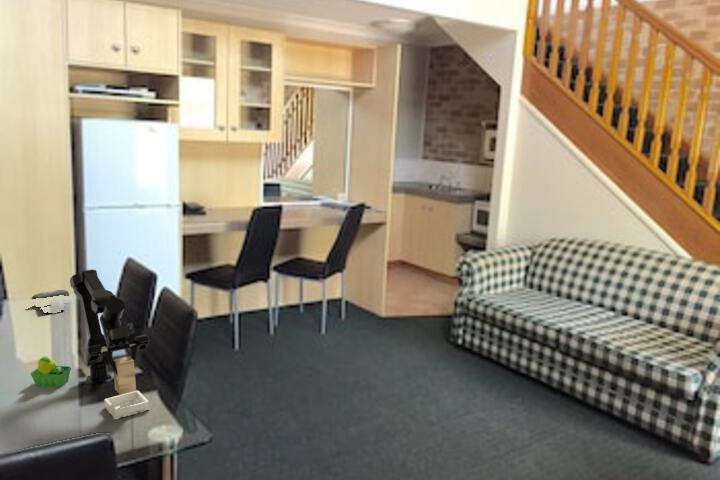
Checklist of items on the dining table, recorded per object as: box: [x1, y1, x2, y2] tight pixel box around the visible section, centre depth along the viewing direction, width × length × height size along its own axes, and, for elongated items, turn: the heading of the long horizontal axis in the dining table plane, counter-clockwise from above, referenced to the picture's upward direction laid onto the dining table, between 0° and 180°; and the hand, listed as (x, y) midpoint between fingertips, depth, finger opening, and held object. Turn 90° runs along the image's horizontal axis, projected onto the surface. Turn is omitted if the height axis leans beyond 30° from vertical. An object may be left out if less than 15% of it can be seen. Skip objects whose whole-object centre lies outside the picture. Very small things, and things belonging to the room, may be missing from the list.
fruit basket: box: [29, 356, 72, 388], centre depth 205 cm, size 11×9×11 cm
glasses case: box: [31, 289, 70, 299], centre depth 302 cm, size 18×10×8 cm, turn 136°
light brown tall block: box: [112, 355, 137, 395], centre depth 185 cm, size 5×5×10 cm
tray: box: [104, 389, 150, 419], centre depth 187 cm, size 11×11×3 cm
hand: (125, 371), depth 184 cm, fingers closed on light brown tall block, 5 cm apart
